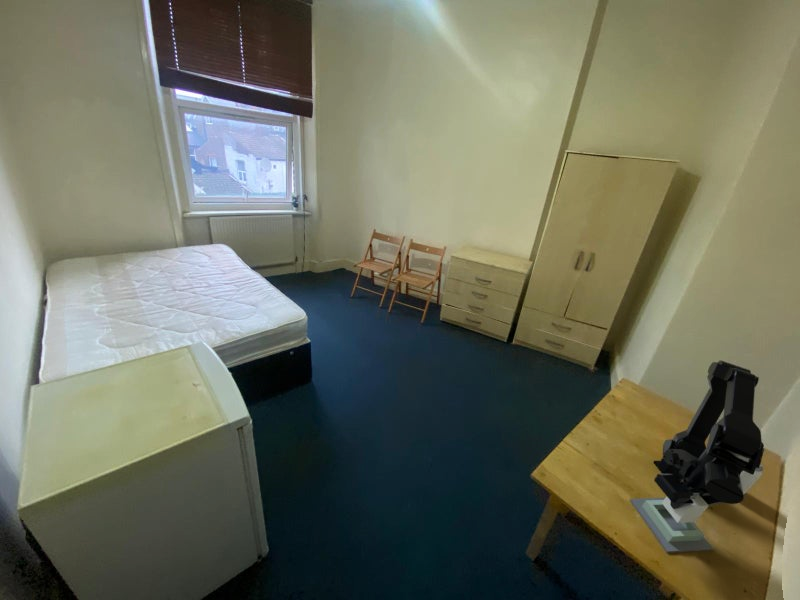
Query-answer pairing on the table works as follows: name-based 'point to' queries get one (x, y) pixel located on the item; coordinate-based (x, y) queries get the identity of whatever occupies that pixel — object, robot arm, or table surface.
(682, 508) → the plug
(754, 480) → the can
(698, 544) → the charging dock
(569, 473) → the table surface
